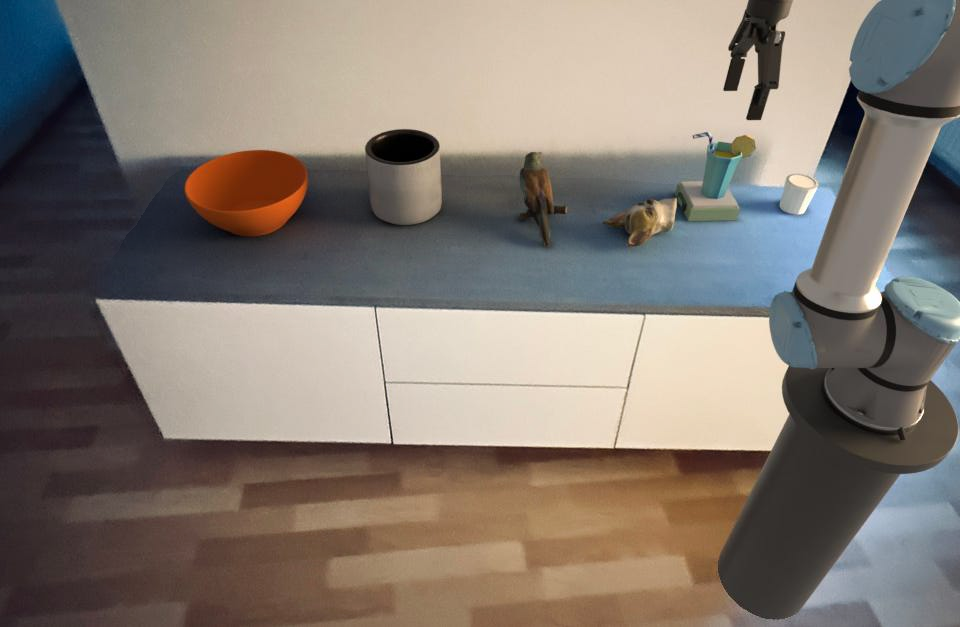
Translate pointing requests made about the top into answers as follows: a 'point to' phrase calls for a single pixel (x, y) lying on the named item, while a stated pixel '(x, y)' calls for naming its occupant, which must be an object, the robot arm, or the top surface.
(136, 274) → the top surface
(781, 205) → the shot glass
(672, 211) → the ceramic sculpture
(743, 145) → the cup
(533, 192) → the bird figurine
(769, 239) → the top surface
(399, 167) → the planter
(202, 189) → the bowl
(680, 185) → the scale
